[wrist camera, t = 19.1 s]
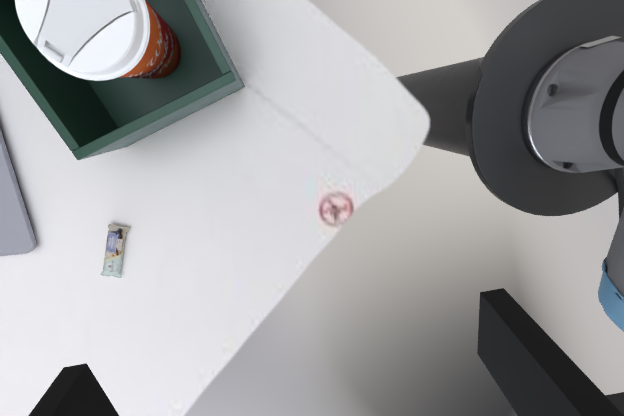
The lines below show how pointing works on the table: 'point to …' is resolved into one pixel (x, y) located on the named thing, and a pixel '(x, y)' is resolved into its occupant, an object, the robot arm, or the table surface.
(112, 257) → the granola bar
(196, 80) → the open storage bin
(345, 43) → the table surface
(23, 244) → the laptop
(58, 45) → the paper cup
